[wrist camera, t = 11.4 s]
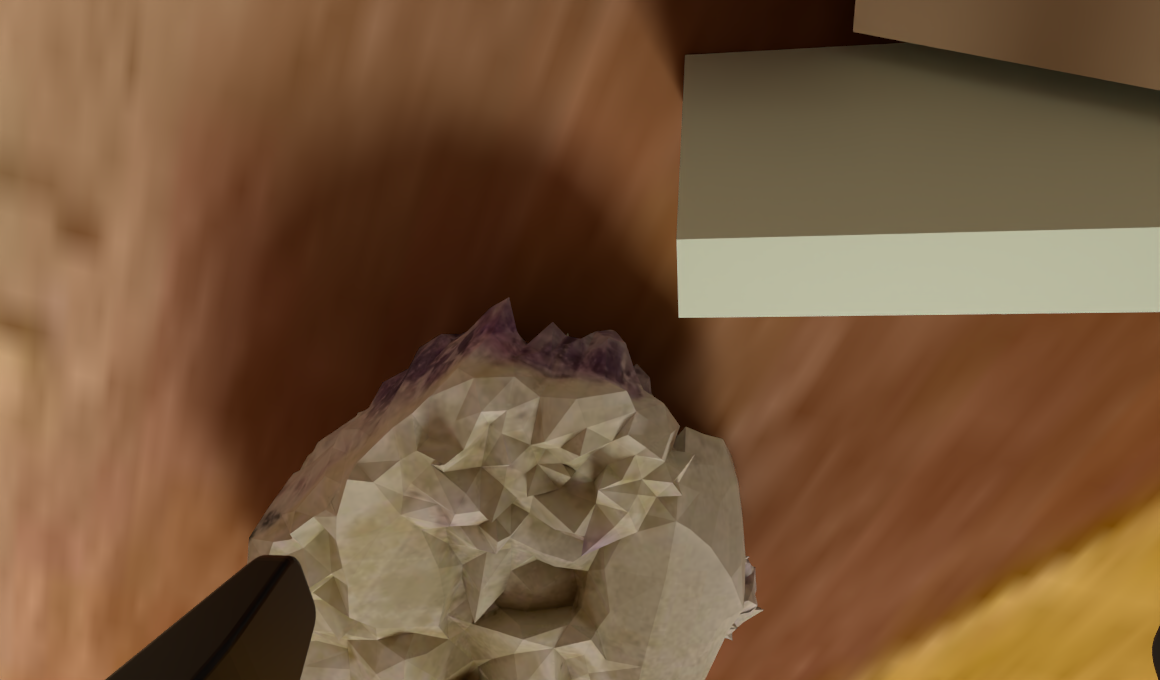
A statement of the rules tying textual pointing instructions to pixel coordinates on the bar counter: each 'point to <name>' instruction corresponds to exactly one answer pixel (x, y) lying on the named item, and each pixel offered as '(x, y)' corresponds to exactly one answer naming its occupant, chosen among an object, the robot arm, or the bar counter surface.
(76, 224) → the bar counter surface
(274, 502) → the geode
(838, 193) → the pale green open box
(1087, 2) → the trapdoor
